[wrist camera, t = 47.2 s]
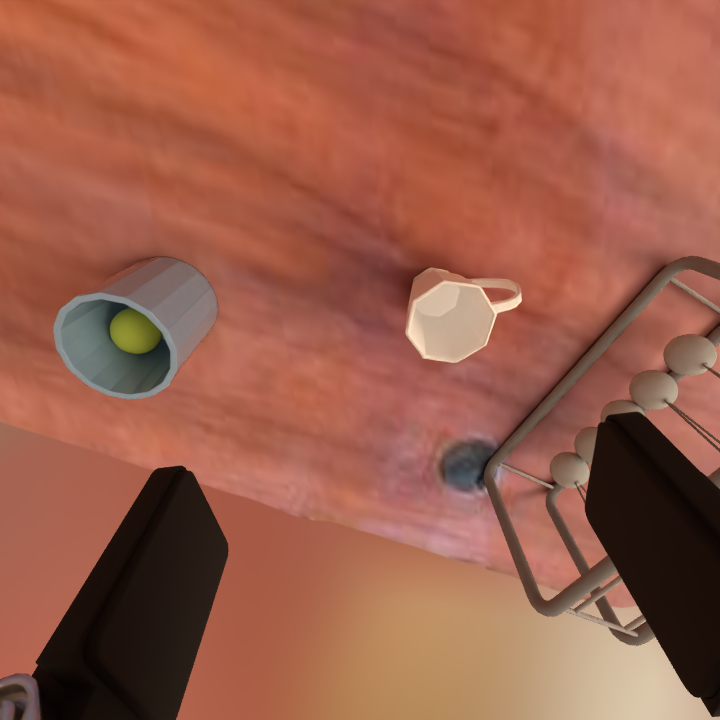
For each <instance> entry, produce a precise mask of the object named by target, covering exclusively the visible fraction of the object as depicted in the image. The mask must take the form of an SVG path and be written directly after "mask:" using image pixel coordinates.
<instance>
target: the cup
mask: <svg viewBox="0 0 720 720" xmlns="http://www.w3.org/2000/svg"><path fill="white" fill-rule="evenodd" d="M481 287H490V288H506V289H509V290H512V291H514V292H515V293H516V294H515V295H514V296H513V297H512V298H509V299H507V300H501V301H495V302H490V301H489V299H488V298H487V296H486V295H485V293H484V291H483V290H482V288H481ZM521 301H522V297H521V288H520V286H519V284H518V283H517V282H515V281H512V280H510V279H501V278H474V279H466V278H465V277H463V276H461V275H458V274H453V273H449V272H448V270H443V269H437V268H430V267H429V268H428V269H426V270H425V271H424V272H422V273H421V274H419V275H418V276H416V277H415V278H414V280H413V285H412V289H411V294H410V300H409V305H408V309H407V322H406V331H405V334H406V335H407V337H408V338H409V339H410V341H411V342H412V344H413V345H414V346H415V348H416V349H417V350H418V352H419V353H420V354H421V356H422V357H423V358H424V359H430V360H438V361H445V362H452V363H457V362H459V361H461V360H462V359H464V358H466V357H467V356H469V355H471V354H472V353H474V352H476V351H478V350H479V349H481V348H483V347H484V346H486V345H487V342H488V339H489V336H490V333H491V330H492V327H493V324H494V321H495V318H496V315H497V313H500V312H503V311H507V310H510V309H513V308H515V307H517V306H518V304H519V303H520V302H521Z"/></svg>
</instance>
